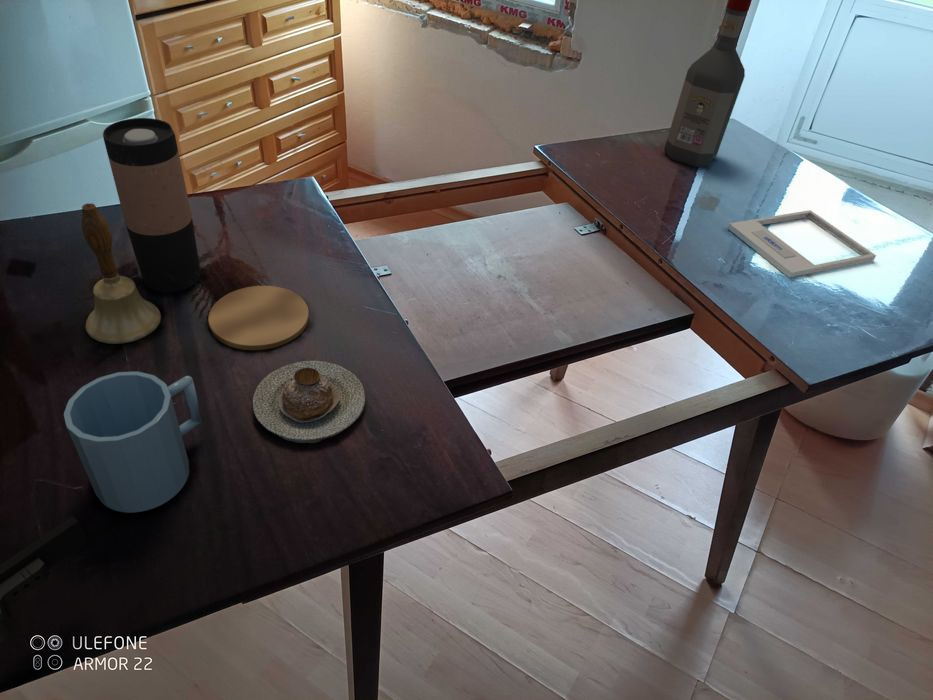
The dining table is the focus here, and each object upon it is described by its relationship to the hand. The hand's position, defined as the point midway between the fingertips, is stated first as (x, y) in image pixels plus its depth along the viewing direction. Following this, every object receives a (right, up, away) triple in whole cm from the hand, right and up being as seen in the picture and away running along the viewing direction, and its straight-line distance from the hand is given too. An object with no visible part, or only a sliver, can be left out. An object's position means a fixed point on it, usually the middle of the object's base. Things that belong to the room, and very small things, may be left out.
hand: (32, 483), depth 56 cm
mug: (+5, -1, +11) cm, 12 cm away
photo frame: (+90, +28, +56) cm, 110 cm away
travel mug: (-3, +20, +34) cm, 40 cm away
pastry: (+18, +5, +19) cm, 27 cm away
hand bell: (-6, +14, +27) cm, 31 cm away
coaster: (+10, +15, +29) cm, 34 cm away
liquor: (+79, +49, +79) cm, 122 cm away
